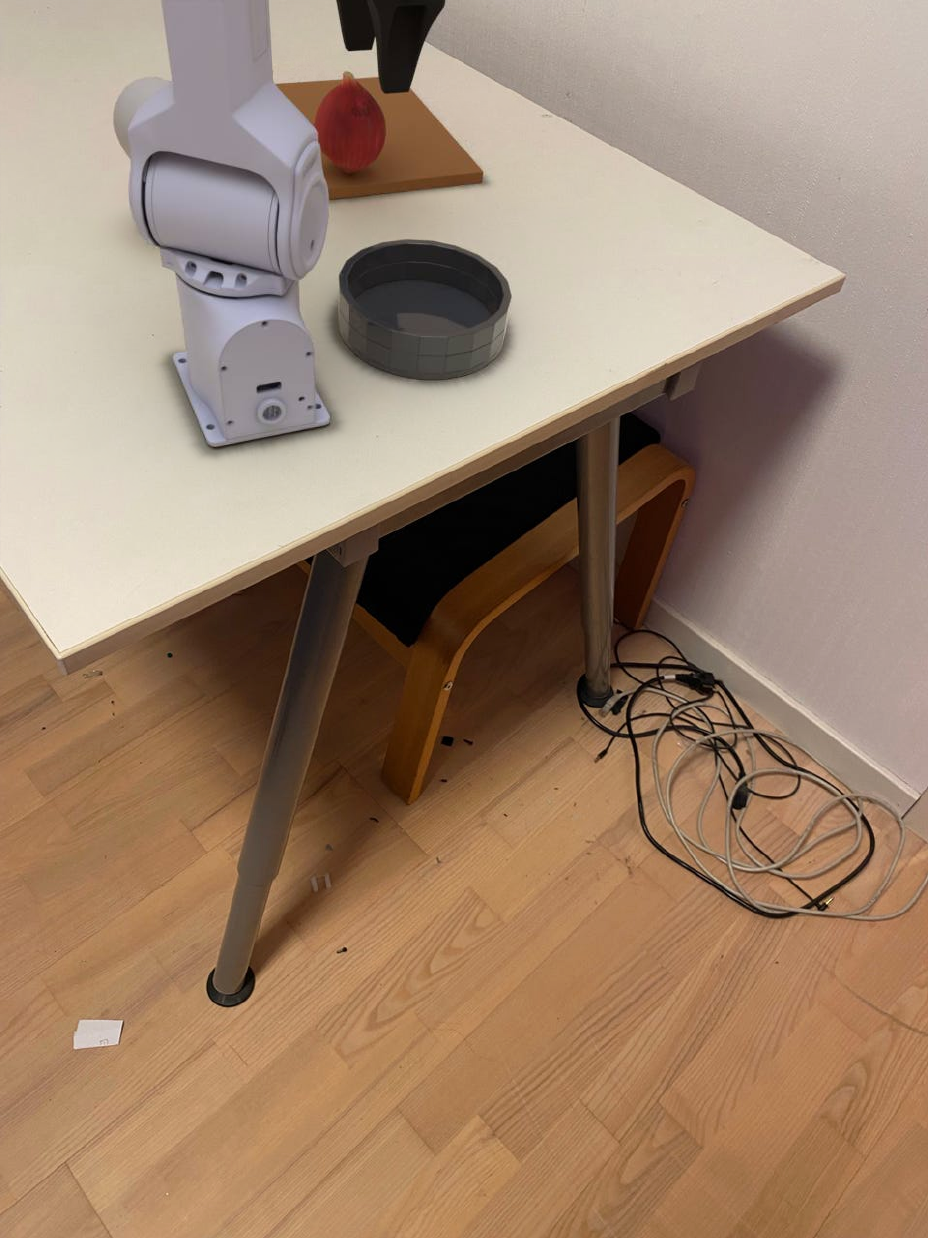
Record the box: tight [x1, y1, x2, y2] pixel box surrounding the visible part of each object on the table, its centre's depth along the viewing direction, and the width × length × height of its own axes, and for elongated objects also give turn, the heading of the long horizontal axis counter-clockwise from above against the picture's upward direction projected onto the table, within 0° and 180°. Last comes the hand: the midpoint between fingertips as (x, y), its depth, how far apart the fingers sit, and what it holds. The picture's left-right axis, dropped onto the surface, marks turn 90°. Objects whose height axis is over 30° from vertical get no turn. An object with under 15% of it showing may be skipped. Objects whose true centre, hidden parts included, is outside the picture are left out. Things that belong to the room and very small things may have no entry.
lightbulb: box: [112, 76, 172, 159], centre depth 68 cm, size 6×6×11 cm
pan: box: [337, 238, 513, 381], centre depth 66 cm, size 12×12×4 cm
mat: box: [275, 76, 484, 200], centre depth 85 cm, size 20×16×1 cm
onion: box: [314, 71, 386, 175], centre depth 76 cm, size 6×6×8 cm
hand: (376, 69), depth 71 cm, fingers open, 7 cm apart
